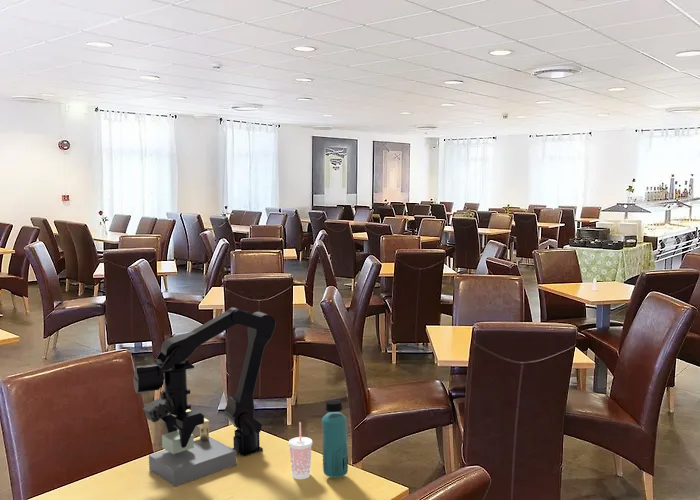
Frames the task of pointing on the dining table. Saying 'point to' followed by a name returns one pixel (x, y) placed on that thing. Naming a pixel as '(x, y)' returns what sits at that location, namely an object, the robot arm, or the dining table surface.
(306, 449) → the beverage cup
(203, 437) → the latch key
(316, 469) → the dining table surface
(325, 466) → the beverage bottle
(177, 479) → the box
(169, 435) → the rectangular block
